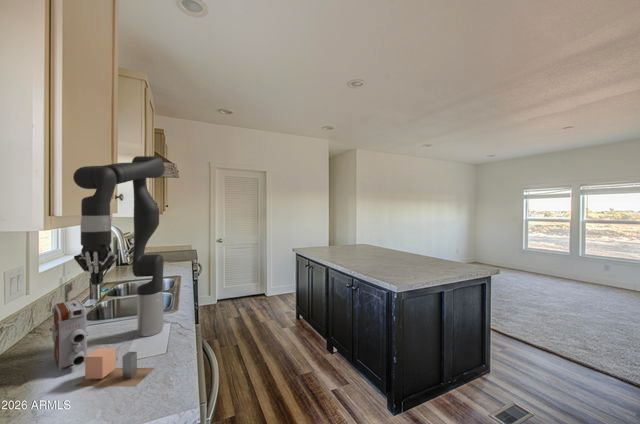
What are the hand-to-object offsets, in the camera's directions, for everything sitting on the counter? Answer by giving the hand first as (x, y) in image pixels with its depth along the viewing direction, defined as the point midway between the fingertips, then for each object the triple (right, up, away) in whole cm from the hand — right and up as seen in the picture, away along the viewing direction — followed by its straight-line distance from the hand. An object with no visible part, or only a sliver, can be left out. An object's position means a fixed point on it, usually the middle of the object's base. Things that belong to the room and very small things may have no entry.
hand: (96, 284), depth 86 cm
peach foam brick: (+3, -27, -2) cm, 27 cm away
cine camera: (-14, -29, +6) cm, 33 cm away
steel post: (+12, -28, -2) cm, 31 cm away
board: (+8, -29, -2) cm, 30 cm away
